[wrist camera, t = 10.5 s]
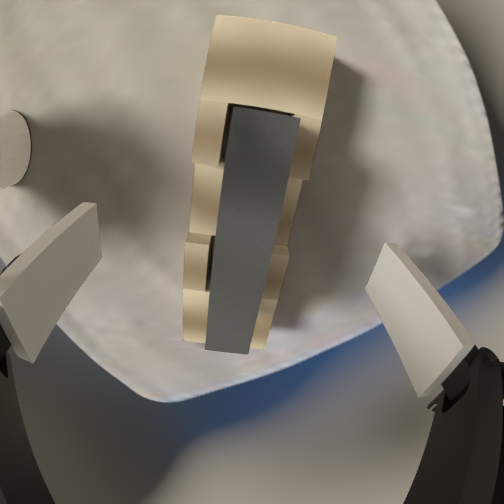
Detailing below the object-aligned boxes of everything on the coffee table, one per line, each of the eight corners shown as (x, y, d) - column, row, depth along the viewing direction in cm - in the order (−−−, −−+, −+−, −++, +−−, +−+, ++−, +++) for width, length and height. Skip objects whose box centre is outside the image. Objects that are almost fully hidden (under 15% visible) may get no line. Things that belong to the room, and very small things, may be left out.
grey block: (238, 110, 16) (233, 106, 9) (277, 116, 16) (300, 118, 9) (215, 275, 22) (204, 349, 15) (247, 279, 23) (247, 354, 16)
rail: (221, 32, 14) (216, 14, 11) (319, 50, 15) (337, 37, 11) (189, 309, 25) (183, 339, 22) (261, 318, 26) (263, 349, 23)
